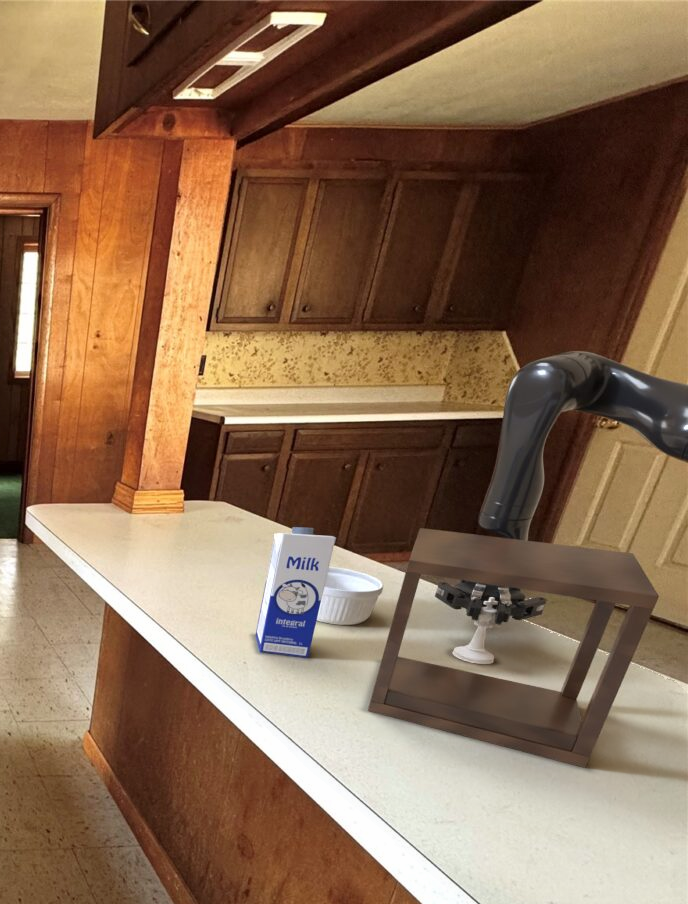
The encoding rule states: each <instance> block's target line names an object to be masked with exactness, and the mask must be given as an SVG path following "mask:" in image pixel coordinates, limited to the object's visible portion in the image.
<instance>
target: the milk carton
mask: <svg viewBox="0 0 688 904" xmlns="http://www.w3.org/2000/svg"><path fill="white" fill-rule="evenodd" d="M273 536H274V538H273V543H272V548H271V552H270V559H269V564H268V569H267V574H266V579H265V583H264V589H263V595H262V598H261V599H262V600H261V605H260V609H259V615H258V620H257V625H256V629H255V639H256V642H257V646H258V650H259V652H260V653H267V654H273V655H281V656H290V657H297V658H305V659H306V658H307V659H309V656H310V655H309V654H310V652H311V651H310V650H311V646H312V642H313V637H314V633H315V628H316V626H317V625H316V624H317V622H318V621H317V616H318V612H319V608H320V603H321V599H322V595H323V590H324V586H325V582H326V577H327V573H328V569H329V567H330V564H331V561H332V560H331V559H332V556H333V552H334V547H335V544H336V540H337V537H335V536H333V535H318V534H314V527H302V526H301V527H300V526H299V527H298V526H293V527H292V528H291V532H290V533H289V532H277V533H273Z"/></svg>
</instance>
